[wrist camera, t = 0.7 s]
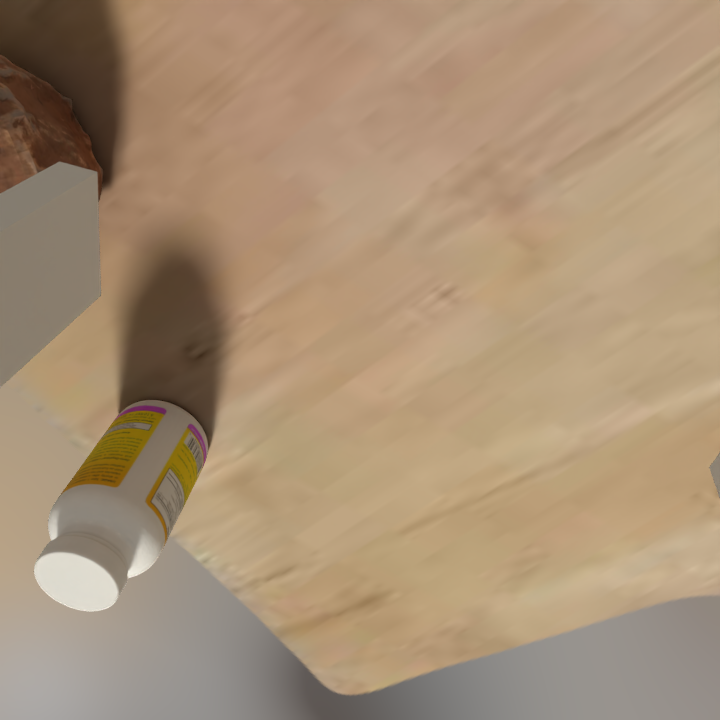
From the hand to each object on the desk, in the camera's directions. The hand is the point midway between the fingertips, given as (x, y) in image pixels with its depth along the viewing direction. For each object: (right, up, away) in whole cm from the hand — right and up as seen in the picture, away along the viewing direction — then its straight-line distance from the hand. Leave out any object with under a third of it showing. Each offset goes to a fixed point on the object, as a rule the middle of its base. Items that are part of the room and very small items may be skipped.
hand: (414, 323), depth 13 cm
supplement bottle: (-15, -6, +34) cm, 37 cm away
